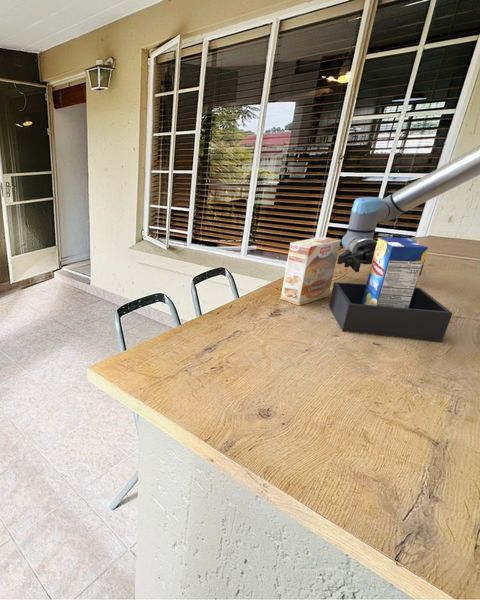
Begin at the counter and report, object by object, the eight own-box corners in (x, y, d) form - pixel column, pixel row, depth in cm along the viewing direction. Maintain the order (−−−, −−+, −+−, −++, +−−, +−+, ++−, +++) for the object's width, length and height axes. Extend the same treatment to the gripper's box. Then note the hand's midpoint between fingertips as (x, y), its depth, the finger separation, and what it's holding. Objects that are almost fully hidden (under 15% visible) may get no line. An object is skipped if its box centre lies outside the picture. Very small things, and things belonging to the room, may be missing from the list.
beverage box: (370, 325, 95) (392, 246, 87) (359, 310, 104) (378, 237, 96) (402, 328, 92) (428, 247, 84) (388, 312, 101) (410, 237, 93)
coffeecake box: (299, 306, 112) (310, 246, 104) (279, 299, 118) (288, 242, 111) (329, 296, 117) (342, 239, 110) (309, 290, 123) (319, 235, 116)
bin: (412, 313, 102) (420, 287, 100) (441, 342, 87) (452, 313, 84) (328, 305, 111) (333, 282, 108) (342, 331, 95) (348, 304, 92)
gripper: (411, 263, 111) (443, 285, 93) (318, 259, 120) (331, 278, 103) (418, 240, 108) (452, 258, 90) (322, 238, 118) (337, 253, 100)
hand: (388, 269), depth 96 cm, fingers open, 13 cm apart
